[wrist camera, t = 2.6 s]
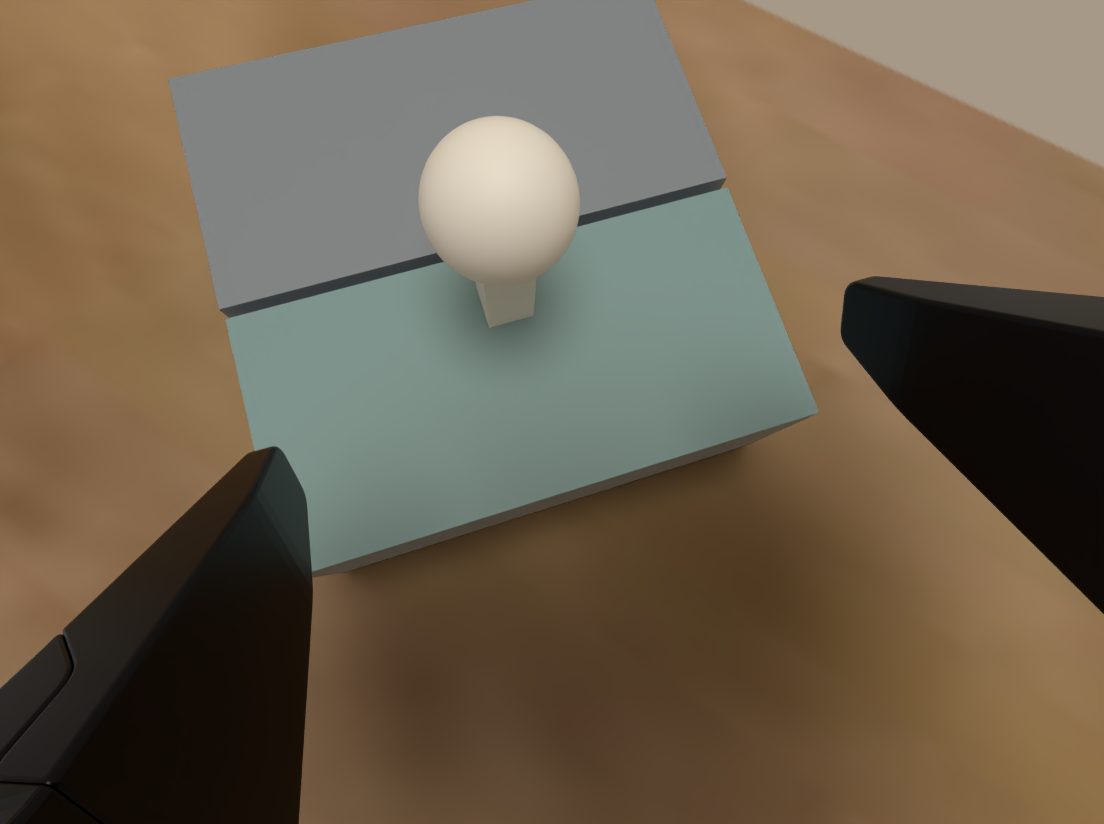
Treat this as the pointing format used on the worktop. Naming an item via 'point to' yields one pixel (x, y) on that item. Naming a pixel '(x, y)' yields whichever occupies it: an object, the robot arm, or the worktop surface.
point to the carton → (429, 151)
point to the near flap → (515, 352)
